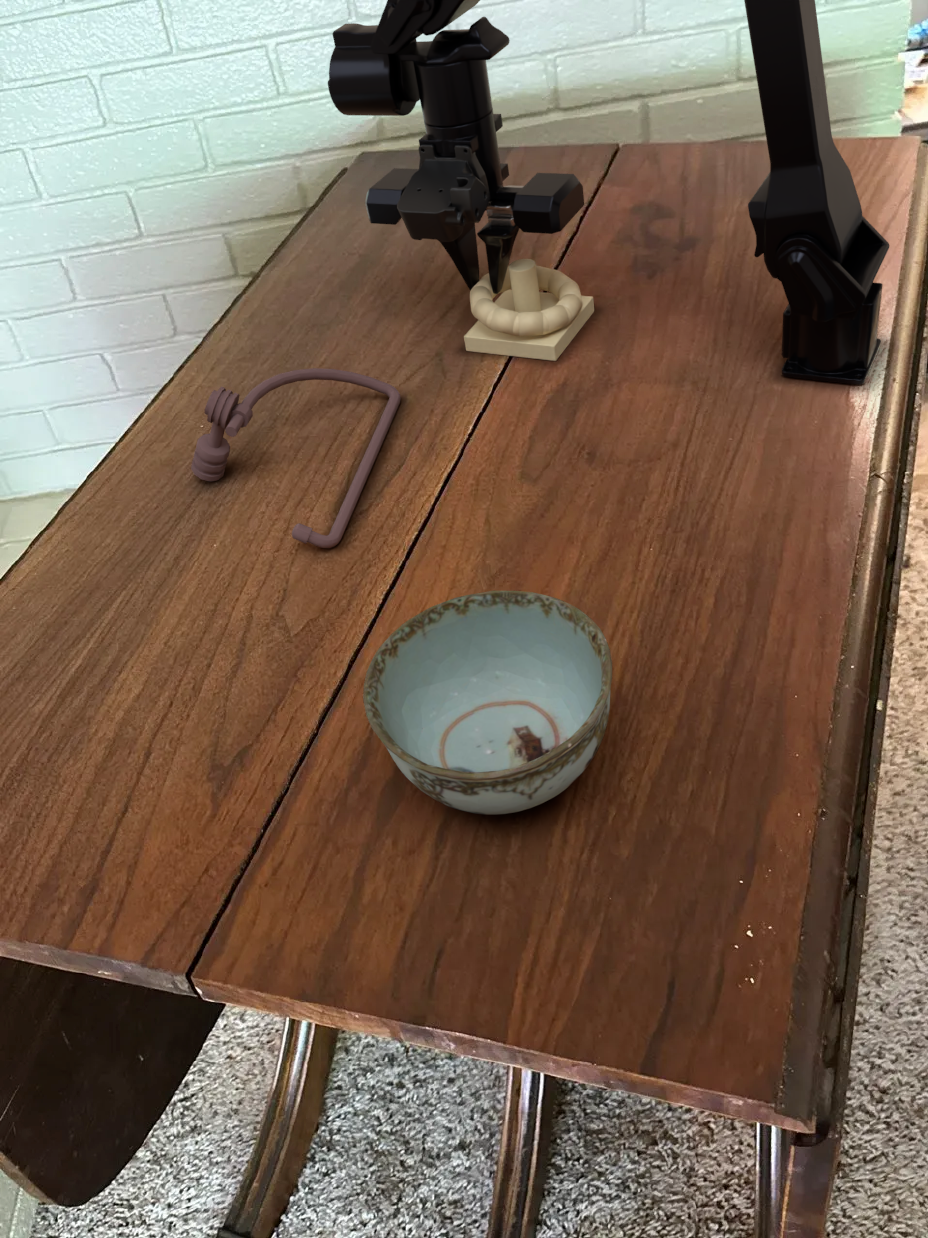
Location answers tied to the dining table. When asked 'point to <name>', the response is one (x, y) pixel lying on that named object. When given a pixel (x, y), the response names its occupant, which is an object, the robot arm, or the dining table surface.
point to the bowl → (492, 699)
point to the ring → (528, 321)
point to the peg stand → (527, 300)
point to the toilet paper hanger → (235, 416)
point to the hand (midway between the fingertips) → (486, 290)
